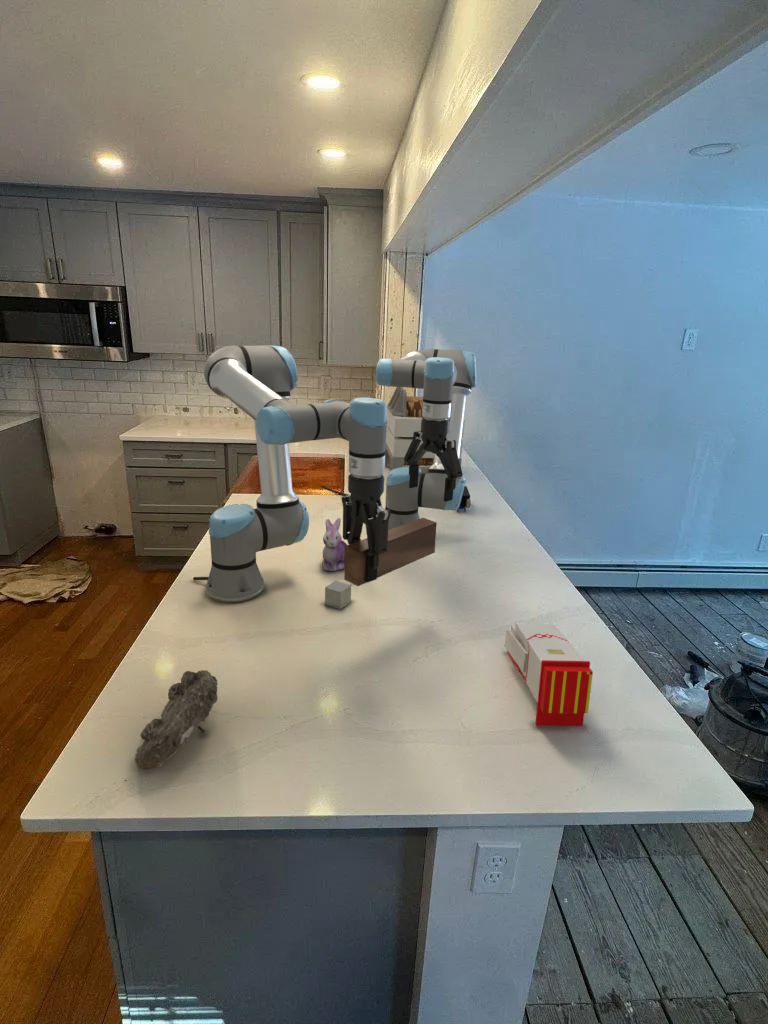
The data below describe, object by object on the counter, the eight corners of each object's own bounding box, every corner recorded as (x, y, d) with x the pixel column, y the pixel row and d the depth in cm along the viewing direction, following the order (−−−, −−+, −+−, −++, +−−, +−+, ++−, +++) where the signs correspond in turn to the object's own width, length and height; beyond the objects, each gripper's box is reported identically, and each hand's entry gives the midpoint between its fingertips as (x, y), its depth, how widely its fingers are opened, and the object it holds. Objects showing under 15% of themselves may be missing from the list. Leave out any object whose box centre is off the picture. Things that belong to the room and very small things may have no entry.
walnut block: (344, 579, 124) (344, 546, 122) (421, 547, 142) (422, 517, 139) (357, 586, 122) (358, 552, 119) (434, 552, 139) (436, 522, 136)
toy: (550, 607, 134) (601, 667, 105) (545, 659, 137) (594, 732, 108) (499, 606, 134) (537, 666, 104) (495, 659, 137) (530, 731, 107)
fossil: (167, 671, 114) (219, 638, 109) (200, 702, 116) (252, 671, 112) (109, 762, 94) (169, 727, 89) (151, 796, 97) (212, 765, 92)
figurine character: (470, 516, 223) (465, 500, 237) (473, 499, 220) (467, 484, 233) (453, 516, 223) (449, 500, 236) (455, 498, 220) (451, 483, 233)
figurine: (327, 574, 167) (327, 527, 162) (315, 561, 175) (315, 515, 170) (356, 569, 171) (357, 523, 166) (343, 556, 179) (343, 511, 174)
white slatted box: (382, 463, 289) (386, 382, 275) (445, 464, 293) (451, 384, 279) (390, 482, 257) (394, 392, 243) (460, 483, 261) (468, 394, 247)
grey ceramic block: (324, 604, 151) (325, 587, 149) (335, 596, 155) (335, 580, 153) (340, 609, 149) (340, 592, 147) (350, 601, 153) (351, 584, 151)
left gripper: (326, 467, 121) (325, 566, 129) (381, 487, 109) (377, 596, 117) (353, 462, 126) (351, 558, 134) (409, 481, 114) (403, 585, 122)
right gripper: (393, 411, 157) (390, 484, 164) (461, 428, 139) (454, 509, 147) (413, 408, 161) (409, 479, 169) (481, 425, 144) (473, 503, 152)
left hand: (363, 575), depth 125 cm, fingers closed on walnut block, 5 cm apart
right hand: (430, 493), depth 158 cm, fingers open, 13 cm apart
